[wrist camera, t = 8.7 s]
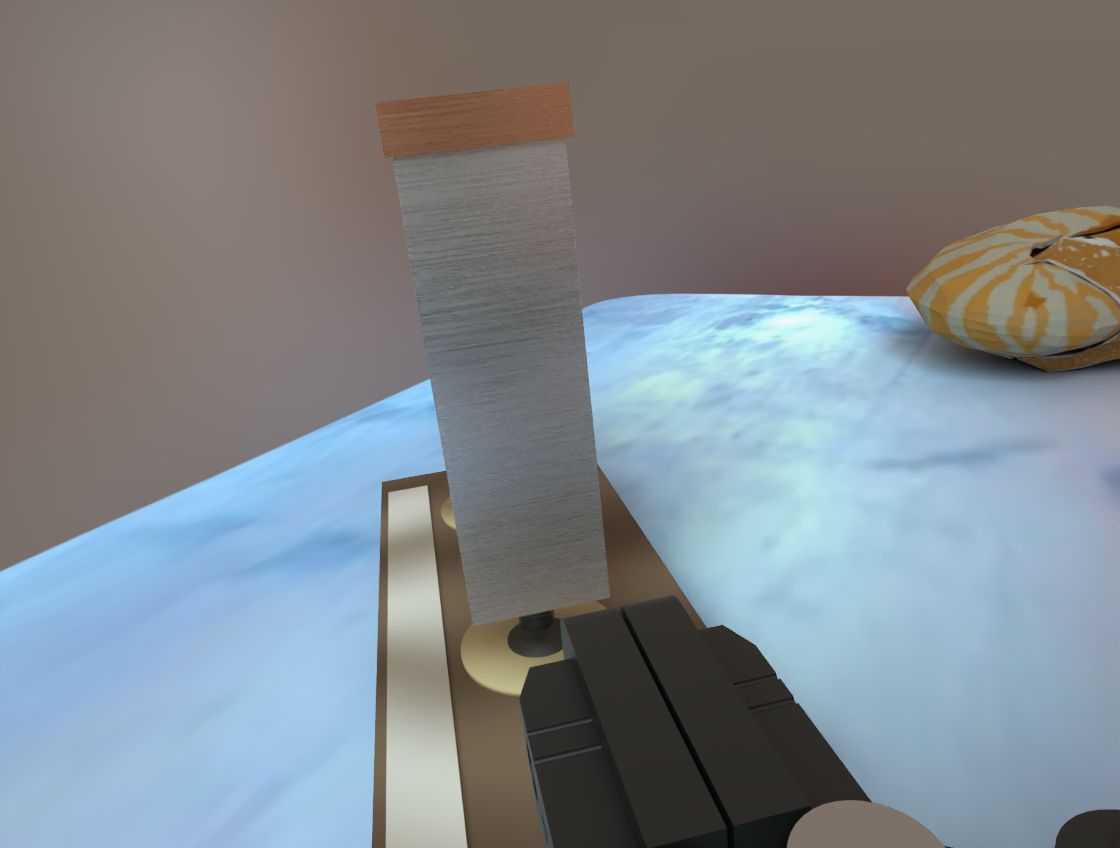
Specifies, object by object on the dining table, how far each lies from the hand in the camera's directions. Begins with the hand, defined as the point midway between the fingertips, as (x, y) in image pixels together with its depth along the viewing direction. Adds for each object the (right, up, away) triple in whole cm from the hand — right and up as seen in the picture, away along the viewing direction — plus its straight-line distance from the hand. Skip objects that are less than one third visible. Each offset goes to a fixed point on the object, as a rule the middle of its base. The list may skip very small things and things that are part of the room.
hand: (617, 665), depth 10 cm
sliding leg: (-1, -2, +11) cm, 12 cm away
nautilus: (+30, +7, +33) cm, 45 cm away
